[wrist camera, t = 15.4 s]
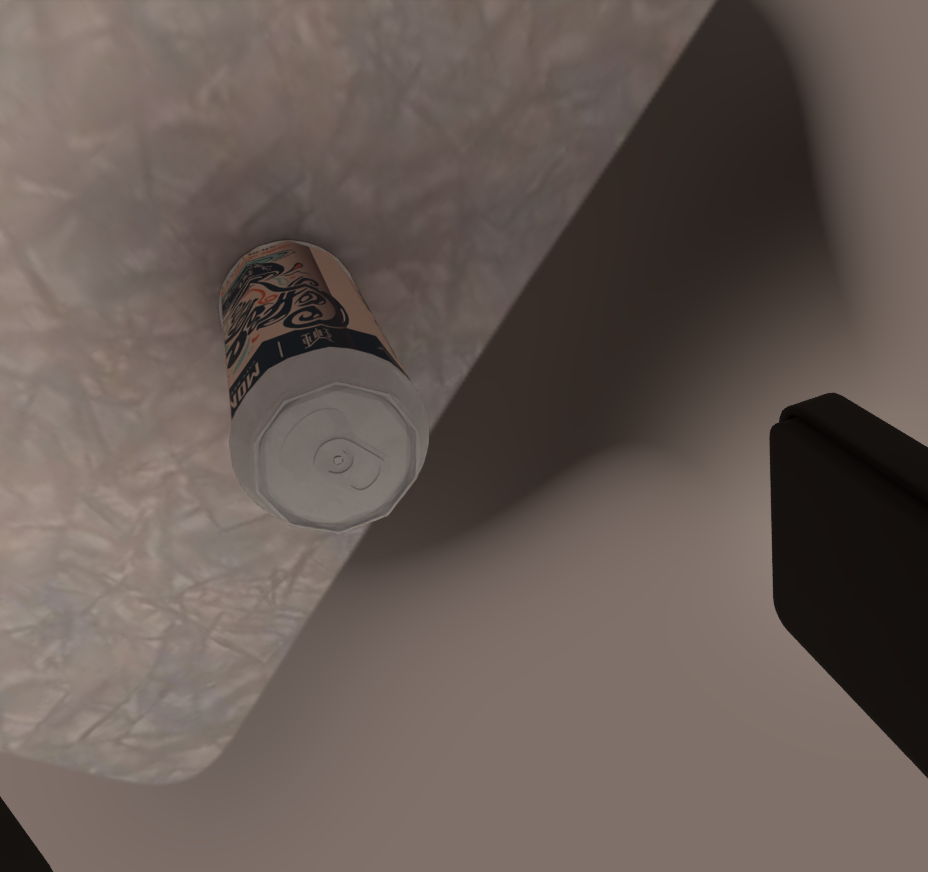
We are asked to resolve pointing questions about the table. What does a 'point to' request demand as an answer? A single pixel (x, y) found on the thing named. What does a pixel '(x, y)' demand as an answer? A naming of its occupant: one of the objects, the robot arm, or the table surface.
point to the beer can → (315, 392)
